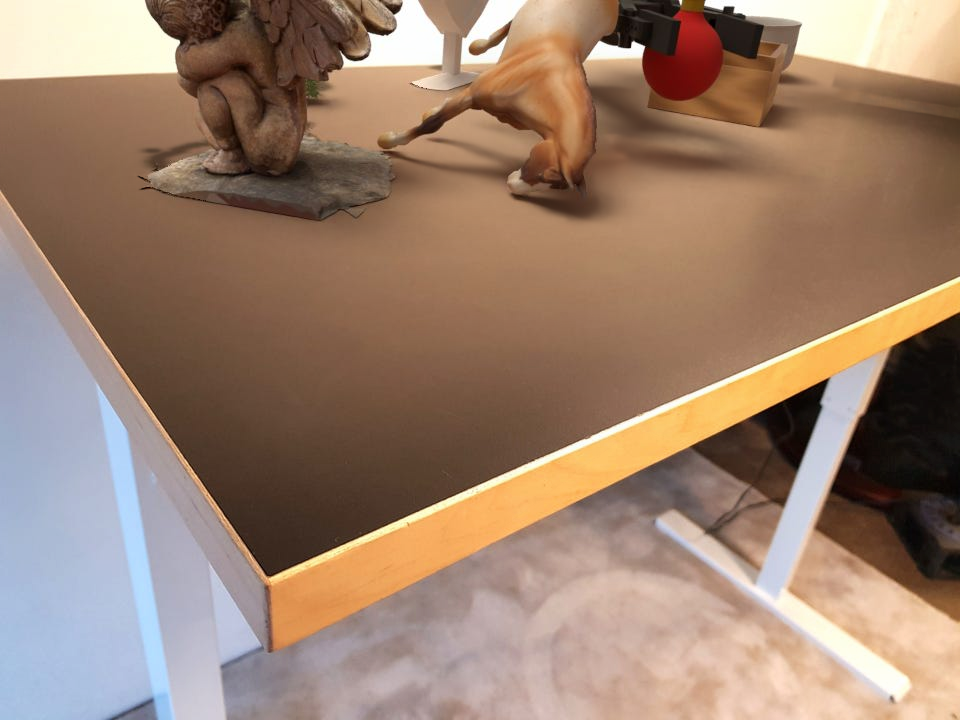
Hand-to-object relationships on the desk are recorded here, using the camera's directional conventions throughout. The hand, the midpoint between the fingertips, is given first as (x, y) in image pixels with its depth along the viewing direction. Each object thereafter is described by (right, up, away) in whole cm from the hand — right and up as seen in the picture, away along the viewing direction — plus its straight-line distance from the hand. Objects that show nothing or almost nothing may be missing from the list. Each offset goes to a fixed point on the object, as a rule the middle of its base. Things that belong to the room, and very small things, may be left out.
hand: (715, 40), depth 66 cm
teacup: (+22, +17, +55) cm, 62 cm away
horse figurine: (-22, 0, +11) cm, 24 cm away
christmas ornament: (-2, -3, +7) cm, 8 cm away
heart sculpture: (-23, +8, +32) cm, 41 cm away
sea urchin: (-38, 0, +17) cm, 42 cm away
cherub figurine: (-35, -12, -3) cm, 37 cm away
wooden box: (+9, +5, +31) cm, 33 cm away
